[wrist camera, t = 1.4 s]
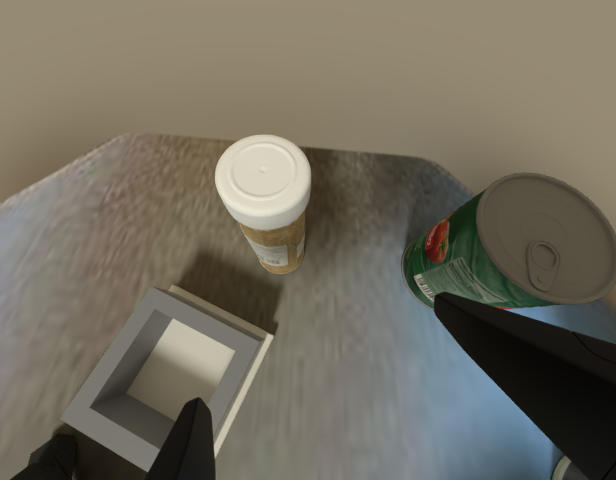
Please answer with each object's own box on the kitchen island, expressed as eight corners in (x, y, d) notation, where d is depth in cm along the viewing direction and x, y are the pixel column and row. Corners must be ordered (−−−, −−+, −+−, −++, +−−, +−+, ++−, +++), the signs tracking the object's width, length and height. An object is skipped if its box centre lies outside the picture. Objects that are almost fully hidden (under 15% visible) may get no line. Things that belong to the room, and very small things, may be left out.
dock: (274, 335, 21) (269, 338, 17) (212, 466, 18) (186, 509, 14) (177, 286, 22) (149, 277, 18) (102, 401, 19) (47, 423, 15)
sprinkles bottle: (313, 252, 24) (332, 170, 11) (280, 285, 23) (259, 235, 10) (281, 222, 25) (265, 114, 12) (247, 252, 24) (191, 168, 11)
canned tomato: (412, 222, 26) (492, 153, 15) (486, 253, 25) (622, 201, 14) (390, 292, 23) (466, 265, 13) (471, 328, 22) (624, 331, 12)
